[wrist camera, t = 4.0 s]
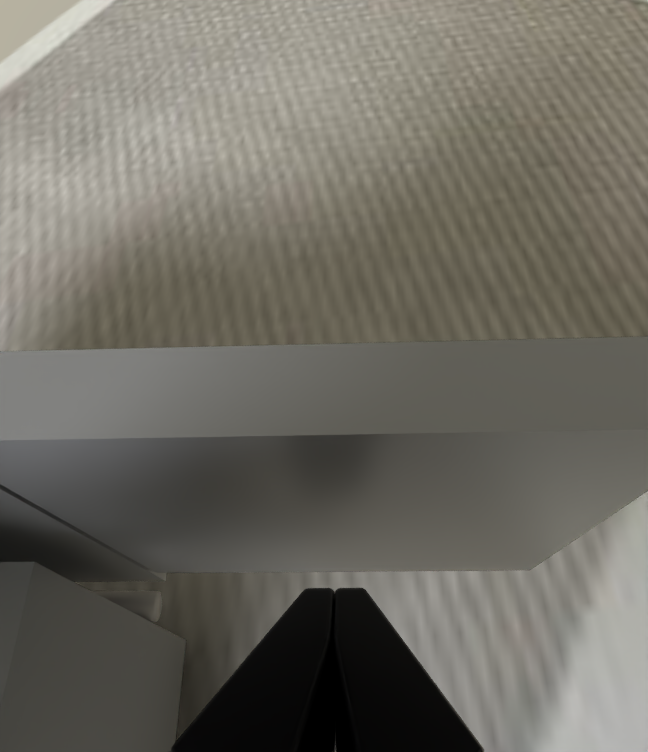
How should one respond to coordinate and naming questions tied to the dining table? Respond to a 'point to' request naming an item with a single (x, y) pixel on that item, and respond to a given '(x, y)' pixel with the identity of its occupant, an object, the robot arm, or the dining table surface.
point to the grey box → (84, 666)
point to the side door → (317, 455)
